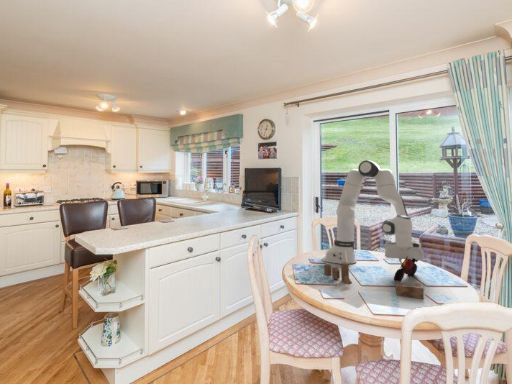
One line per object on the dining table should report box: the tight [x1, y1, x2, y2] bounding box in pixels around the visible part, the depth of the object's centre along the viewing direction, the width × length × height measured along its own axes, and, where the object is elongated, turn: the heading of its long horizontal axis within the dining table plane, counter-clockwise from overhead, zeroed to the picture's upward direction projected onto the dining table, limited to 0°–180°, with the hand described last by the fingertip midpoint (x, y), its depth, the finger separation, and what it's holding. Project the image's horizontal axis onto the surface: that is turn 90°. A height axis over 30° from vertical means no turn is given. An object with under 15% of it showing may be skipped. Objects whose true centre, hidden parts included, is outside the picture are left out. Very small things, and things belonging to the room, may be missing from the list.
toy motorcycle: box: [393, 256, 419, 283], centre depth 155 cm, size 25×5×16 cm, turn 127°
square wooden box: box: [395, 281, 424, 300], centre depth 135 cm, size 11×11×5 cm
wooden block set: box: [323, 262, 353, 286], centre depth 153 cm, size 18×9×10 cm, turn 36°
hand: (403, 266), depth 161 cm, fingers closed
